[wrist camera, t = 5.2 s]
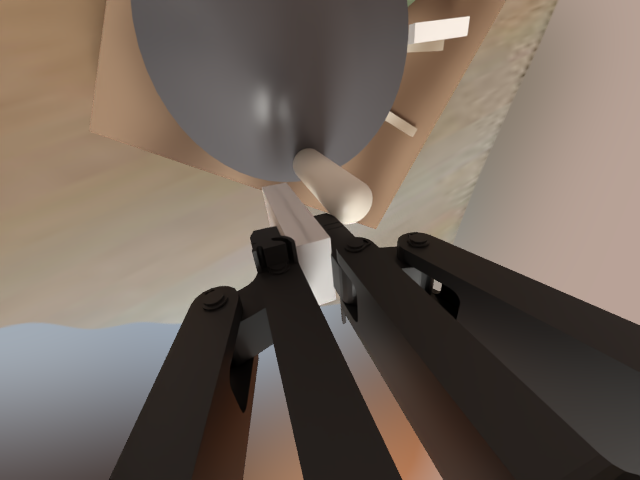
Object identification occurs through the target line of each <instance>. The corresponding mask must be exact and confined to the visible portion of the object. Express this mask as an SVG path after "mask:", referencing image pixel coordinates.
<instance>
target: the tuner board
mask: <svg viewBox="0 0 640 480" xmlns="http://www.w3.org/2000/svg"><path fill="white" fill-rule="evenodd" d="M505 1H506V0H407V5H408V34H409V25H410V24H414V23H419V22H427V21H435V20H443V19H451V18H459V17H467V16H470V19H469V27H468V34H467V36H463V37H458V38H451V39H444V40H436V41H429V42H422V43H415V44H408V46H407V56H406V61H405V67H404V72H403V76H402V80H401V83H400V87H399V90H398V93H397V95H396V98H395V101H394V103H393V106H392V108H391V110H390V112H389V114H388V116H387V118H386V120H385V121H384V123H383V124H382V126H381V127H380V129H379V131H378V132H377V133H376V135H375V136H374V137H373V138H372V140H371V141H370V142H369V143H368V145H367V146H366V147H365V148H364V149H363V150H362V151H361V152H360V153H359V154H357V155H356V156H355V157H354V158H352V159H351V160H350V161H349V162H347V163H346V164H344V165H342V166H341V167H342V168H343V169H344V170H346V171H347V172H349V173H350V174H352V175H353V176H355V177H356V178H358V179H359V180H361V181H362V182H364V183H365V184H367V185H368V186H369V188H370V189H371V192H372V197H373V200H372V205H371V208H370V210H369V212H368V213H367V214H366V216H365V217H364V218H362V219H361V220H360V221H358V222H357V223H359V224H362V225H365V226H368V227H371V228H374V229H376V228H377V226H378V224H379V223H380V221H381V219H382V217H383V216H384V214H385V212H386V210H387V208H388V207H389V205H390V203H391V201H392V200H393V198H394V196H395V194H396V193H397V191H398V189H399V187H400V186H401V184H402V182H403V180H404V179H405V177H406V175H407V173H408V172H409V170H410V168H411V166H412V165H413V163H414V161H415V159H416V158H417V156H418V154H419V152H420V151H421V149H422V147H423V145H424V144H425V142H426V140H427V138H428V136H429V135H430V133H431V131H432V129H433V128H434V126H435V124H436V122H437V121H438V119H439V117H440V115H441V114H442V112H443V110H444V108H445V107H446V105H447V103H448V101H449V100H450V98H451V96H452V94H453V93H454V91H455V89H456V87H457V86H458V84H459V82H460V80H461V79H462V77H463V75H464V73H465V72H466V70H467V68H468V66H469V64H470V63H471V61H472V59H473V57H474V56H475V54H476V52H477V50H478V49H479V47H480V45H481V43H482V42H483V40H484V38H485V36H486V35H487V33H488V31H489V29H490V28H491V26H492V24H493V22H494V21H495V19H496V17H497V15H498V14H499V12H500V10H501V8H502V7H503V5H504V3H505ZM89 131H90V132H93V133H96V134H99V135H101V136H104V137H107V138H110V139H113V140H116V141H119V142H122V143H125V144H128V145H131V146H134V147H137V148H140V149H142V150H145V151H148V152H151V153H154V154H157V155H160V156H163V157H166V158H169V159H172V160H175V161H178V162H181V163H184V164H186V165H189V166H192V167H195V168H198V169H201V170H204V171H207V172H210V173H213V174H216V175H219V176H222V177H225V178H228V179H230V180H233V181H236V182H239V183H242V184H245V185H248V186H251V187H254V188H257V189H260V190H262V187H266V186H271V185H276V184H281V183H287V184H288V185H289V186H290V188H291V189H292V190H293V192H294V193H295V194H296V195H297V197H298V198H299V199H300V200H301V202H302V203H303V204H304V205H307V206H310V207H313V208H315V209H318V210H321V211H324V212H327V213H329V212H328V211H327V210H326V209H325V207H324V206H323V205H322V204H321V203H320V202H319V200H318V199H317V198H316V197H315V196H314V195H313V193H312V192H311V191H310V190H309V189H308V188H307V187H306V185H305V184H304V183H303V182H302V181H297V182H276V181H267V180H263V179H258V178H254V177H251V176H249V175H246V174H243V173H240V172H238V171H236V170H234V169H232V168H230V167H228V166H226V165H224V164H223V163H221V162H220V161H218V160H217V159H215V158H214V157H212V156H211V155H209V154H208V153H207V152H206V151H204V150H203V149H202V148H201V147H200V146H199V145H197V144H196V143H195V142H194V141H193V140H192V139H191V138H190V137H189V136H188V135H187V134H186V132H185V131H184V130H183V129H182V128H181V127H180V126H179V124H178V123H177V122H176V120H175V119H174V118H173V116H172V115H171V114H170V112H169V111H168V109H167V108H166V106H165V105H164V103H163V101H162V100H161V98H160V96H159V95H158V93H157V91H156V89H155V87H154V85H153V83H152V80H151V78H150V76H149V74H148V72H147V70H146V67H145V64H144V61H143V58H142V55H141V52H140V49H139V46H138V42H137V37H136V33H135V28H134V24H133V19H132V9H131V0H107V1H106V8H105V16H104V23H103V31H102V39H101V46H100V54H99V61H98V69H97V76H96V84H95V91H94V99H93V106H92V114H91V121H90V129H89Z"/></svg>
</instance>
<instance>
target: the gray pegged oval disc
mask: <svg viewBox="0 0 640 480" xmlns="http://www.w3.org/2000/svg"><path fill="white" fill-rule="evenodd" d="M131 9H132V19H133V24H134V28H135V33H136V37H137V42H138V46H139V49H140V52H141V55H142V58H143V61H144V64H145V67H146V70H147V72H148V74H149V76H150V78H151V80H152V83H153V85H154V87H155V89H156V91H157V93H158V95H159V96H160V98H161V100H162V101H163V103H164V105H165V106H166V108H167V109H168V111H169V112H170V114H171V115H172V116H173V118H174V119H175V120H176V122H177V123H178V124H179V126H180V127H181V128H182V129H183V130H184V131H185V132H186V134H187V135H188V136H189V137H190V138H191V139H192V140H193V141H194V142H195V143H196V144H197V145H199V146H200V147H201V148H202V149H203V150H204V151H206V152H207V153H208V154H209V155H211V156H212V157H214V158H215V159H217V160H218V161H220V162H221V163H223V164H224V165H226V166H228V167H230V168H232V169H234V170H236V171H238V172H240V173H243V174H246V175H249V176H251V177H254V178H258V179H263V180H267V181H276V182H297V181H302V182H303V183H304V184H305V185H306V187H307V188H308V189H309V190H310V191H311V192H312V193H313V195H314V196H315V197H316V198H317V199H318V200H319V202H320V203H321V204H322V205H323V206H324V207H325V209H326V210H327V211H328V212H329V213H330V214H331V215H333V216H335V217H336V218H337V219H338V220H339V221H340V222H341V223H342V224H353V223H356V222H358V221H360V220H361V219H362V218H364V217H365V216H366V214H367V213H368V212H369V210H370V208H371V205H372V200H373V197H372V192H371V189H370V188H369V186H368V185H367V184H365V183H364V182H362V181H361V180H359V179H358V178H356V177H355V176H353V175H352V174H350V173H349V172H347V171H346V170H344V169H343V168H342V167H341V166H342V165H344V164H346V163H347V162H349V161H350V160H351V159H352V158H354V157H355V156H356V155H357V154H359V153H360V152H361V151H362V150H363V149H364V148H365V147H366V146H367V145H368V143H369V142H370V141H371V140H372V138H373V137H374V136H375V135H376V133H377V132H378V131H379V129H380V127H381V126H382V124H383V123H384V121H385V120H386V118H387V116H388V114H389V112H390V110H391V108H392V106H393V103H394V101H395V98H396V95H397V93H398V90H399V87H400V83H401V80H402V76H403V72H404V67H405V61H406V56H407V46H408V44H415V43H422V42H429V41H436V40H444V39H451V38H458V37H463V36H467V34H468V27H469V19H470V16H467V17H459V18H451V19H443V20H435V21H427V22H419V23H414V24H410V25H409V34H408V5H407V0H131Z"/></svg>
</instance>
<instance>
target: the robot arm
mask: <svg viewBox="0 0 640 480" xmlns="http://www.w3.org/2000/svg"><path fill="white" fill-rule="evenodd" d="M262 191H263V196H264V200H265V205H266V209H267V214H268V219H269V223H270V227H269V228H265V229H260V230H256V231H253V233H252V235H251V237H250V240H251V244H252V248H253V249H252V253H253V257H254V261H255V265H256V268H257V272H258V273H257V276H256V278H255V279H254V280H253V281H252V282H251V283H250V284H249V285H248V286H246V287H244V288H243V289H241V290H239V291H236V289H235V288H232V287H229V286H219V287H215V288H211V289H209V290H207V291H205V292H203V293H202V294H200V295H199V296H198V297H197V298H196V299H195V300H194V301H193V303H192V304H191V306H190V308H189V310H188V312H187V314H186V316H185V319H184V321H183V323H182V325H181V327H180V329H179V332H178V333H177V336H176V338H175V340H174V342H173V344H172V346H171V348H170V351H169V353H168V355H167V357H166V360H165V361H164V363H163V365H162V368H161V370H160V372H159V374H158V376H157V378H156V381H155V383H154V385H153V387H152V389H151V391H150V393H149V395H148V397H147V400H146V402H145V404H144V406H143V408H142V410H141V412H140V414H139V417H138V419H137V421H136V423H135V425H134V427H133V429H132V432H131V434H130V436H129V438H128V440H127V442H126V445H125V446H124V449H123V451H122V453H121V455H120V457H119V459H118V462H117V464H116V466H115V468H114V470H113V472H112V474H111V476H110V478H109V480H243V474H244V467H245V459H246V452H247V444H248V436H249V428H250V420H251V413H252V405H253V398H254V389H255V382H256V374H257V366H258V359H259V358H258V354H259V353H260V352H262V351H263V350H265V349H266V348H268V347H269V346H270V345H272V344H274V348H275V353H276V357H277V362H278V366H279V370H280V375H281V379H282V384H283V388H284V393H285V397H286V402H287V406H288V411H289V415H290V420H291V424H292V429H293V433H294V438H295V442H296V447H297V451H298V456H299V460H300V465H301V469H302V474H303V478H304V480H402V478H401V476H400V474H399V472H398V470H397V468H396V466H395V463H394V461H393V460H392V457H391V455H390V453H389V451H388V449H387V447H386V445H385V443H384V440H383V438H382V436H381V434H380V432H379V430H378V428H377V426H376V424H375V422H374V420H373V417H372V415H371V413H370V411H369V409H368V407H367V405H366V403H365V401H364V399H363V396H362V395H361V393H360V390H359V388H358V386H357V384H356V382H355V380H354V378H353V376H352V373H351V371H350V370H349V367H348V365H347V363H346V361H345V359H344V357H343V355H342V353H341V350H340V349H339V346H338V344H337V342H336V340H335V338H334V336H333V334H332V332H331V329H330V328H329V325H328V323H327V321H326V319H325V317H324V315H323V313H322V311H321V309H320V306H319V305H321V304H324V303H328V302H331V301H334V300H336V295H335V289H336V291H337V293H338V294H339V296H340V302H341V314H342V321H343V324H345V323H346V316H347V318H348V320H349V321H350V323H351V325H352V326H353V328H354V330H355V332H356V333H357V335H358V337H359V338H360V340H361V342H362V343H363V345H364V347H365V349H366V350H367V352H368V354H369V355H370V357H371V359H372V360H373V362H374V364H375V365H376V367H377V369H378V370H379V372H380V373H381V376H382V377H383V379H384V381H385V382H386V384H387V385H388V387H389V389H390V391H391V392H392V394H393V396H394V397H395V399H396V401H397V402H398V404H399V406H400V408H401V409H402V411H403V413H404V414H405V416H406V418H407V419H408V421H409V423H410V424H411V426H412V428H413V429H414V431H415V433H416V435H417V436H418V438H419V440H420V441H421V443H422V444H423V446H424V448H425V450H426V451H427V453H428V455H429V456H430V458H431V459H432V461H433V463H434V465H435V467H436V468H437V470H438V472H439V473H440V475H441V477H442V478H443V480H640V325H638V324H635V323H633V322H631V321H628V320H626V319H623V318H621V317H619V316H617V315H615V314H612V313H610V312H607V311H605V310H603V309H601V308H598V307H596V306H594V305H591V304H589V303H587V302H584V301H582V300H580V299H577V298H575V297H573V296H570V295H568V294H566V293H563V292H561V291H559V290H556V289H554V288H552V287H550V286H547V285H545V284H543V283H540V282H538V281H535V280H533V279H531V278H529V277H526V276H524V275H522V274H519V273H517V272H515V271H512V270H510V269H508V268H505V267H503V266H501V265H498V264H496V263H494V262H492V261H489V260H487V259H484V258H482V257H480V256H477V255H475V254H473V253H470V252H468V251H466V250H464V249H461V248H459V247H457V246H454V245H452V244H450V243H447V242H445V241H443V240H440V239H438V238H436V237H433V236H431V235H428V234H425V233H418V232H412V233H407V234H404V235H402V236H400V237H399V238H398V241H397V247H384V248H379V247H378V246H377V245H375V244H374V243H373V242H372V241H370V240H369V239H366V238H362V237H354V235H353V234H352V233H351V232H350V231H349V230H348V229H347V228H346V227H345V226H344V225H343V224H342V223H341V222H340V221H339V220H338V219H337V218H336V217H335V216H333V215H330V214H328V213H325V214H320V215H316V216H313V215H312V214H311V213H310V212H309V210H308V209H307V208H306V207H305V205H304V204H303V203H302V202H301V200H300V199H299V198H298V197H297V195H296V194H295V193H294V192H293V190H292V189H291V188H290V186H289V185H288V184H287V183H281V184H276V185H271V186H266V187H262ZM434 279H435V280H436V281H438V282H440V283H442V287H441V291H437V290H435V289H433V283H434Z"/></svg>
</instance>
